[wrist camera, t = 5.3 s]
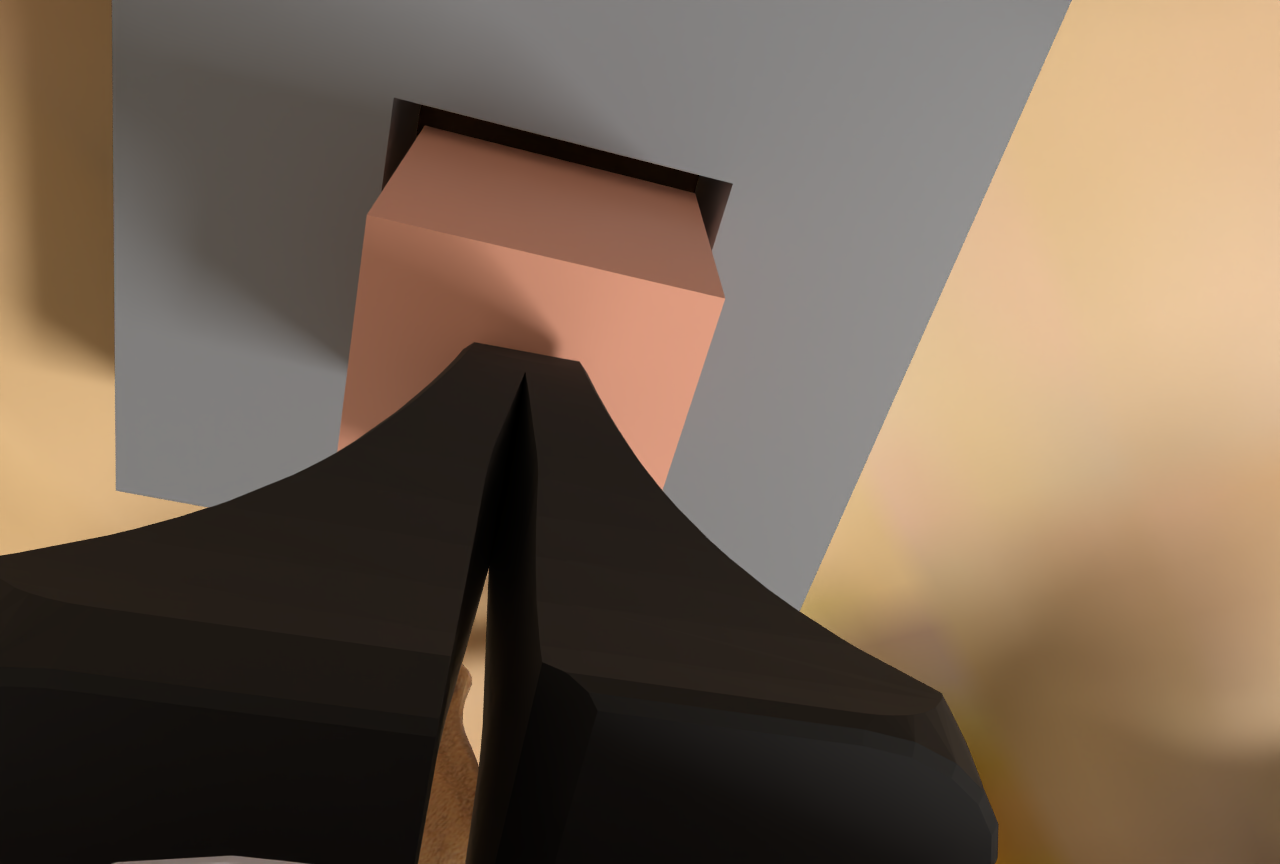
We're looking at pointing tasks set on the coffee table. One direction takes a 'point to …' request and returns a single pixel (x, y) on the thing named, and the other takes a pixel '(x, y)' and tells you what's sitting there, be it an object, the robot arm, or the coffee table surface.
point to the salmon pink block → (533, 283)
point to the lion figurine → (451, 787)
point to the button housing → (578, 113)
